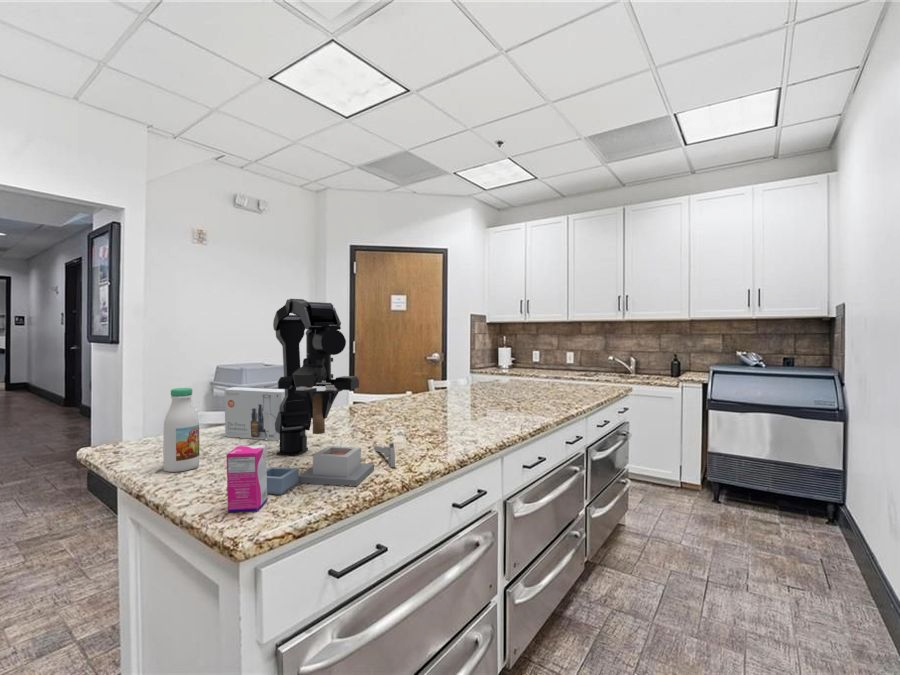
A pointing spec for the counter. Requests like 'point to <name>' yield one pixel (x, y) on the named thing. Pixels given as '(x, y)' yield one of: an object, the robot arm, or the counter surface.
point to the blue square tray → (281, 479)
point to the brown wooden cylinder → (318, 413)
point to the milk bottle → (181, 433)
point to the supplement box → (246, 478)
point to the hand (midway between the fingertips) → (318, 418)
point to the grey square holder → (337, 467)
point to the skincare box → (252, 412)
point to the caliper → (387, 453)
